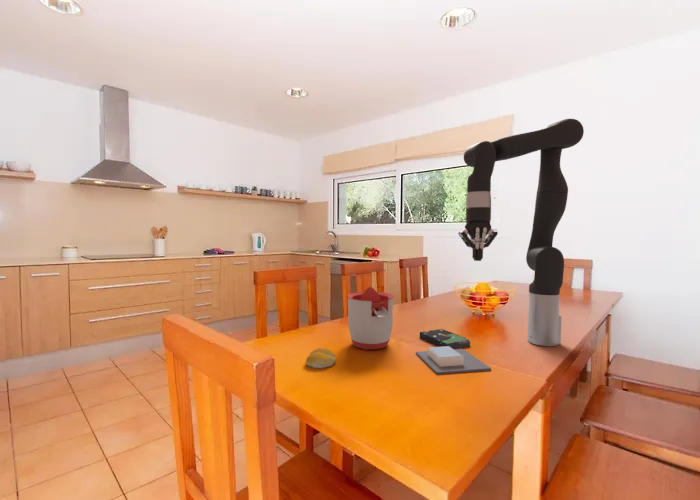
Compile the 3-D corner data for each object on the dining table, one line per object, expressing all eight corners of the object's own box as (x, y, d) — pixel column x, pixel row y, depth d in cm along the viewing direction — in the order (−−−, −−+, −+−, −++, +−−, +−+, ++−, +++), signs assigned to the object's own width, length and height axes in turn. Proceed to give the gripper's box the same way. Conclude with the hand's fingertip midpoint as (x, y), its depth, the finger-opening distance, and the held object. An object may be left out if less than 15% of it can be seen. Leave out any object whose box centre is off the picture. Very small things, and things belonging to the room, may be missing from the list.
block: (449, 345, 108) (427, 347, 107) (463, 356, 99) (440, 357, 98) (449, 354, 108) (427, 355, 107) (463, 365, 99) (440, 366, 98)
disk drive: (418, 339, 126) (446, 351, 113) (418, 332, 126) (446, 343, 113) (441, 335, 131) (470, 347, 117) (441, 328, 131) (471, 338, 117)
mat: (463, 350, 113) (463, 348, 113) (491, 370, 97) (491, 368, 97) (415, 353, 110) (415, 351, 110) (436, 374, 94) (436, 372, 94)
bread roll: (303, 368, 99) (302, 354, 99) (311, 357, 108) (311, 344, 107) (331, 370, 97) (331, 356, 97) (338, 358, 106) (338, 346, 106)
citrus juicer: (360, 357, 107) (360, 292, 106) (340, 340, 123) (340, 284, 122) (404, 350, 113) (405, 289, 112) (380, 335, 129) (380, 282, 128)
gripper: (490, 207, 117) (489, 259, 118) (453, 207, 114) (453, 260, 115) (504, 206, 109) (503, 261, 110) (465, 205, 107) (464, 262, 108)
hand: (477, 260), depth 113 cm, fingers closed
